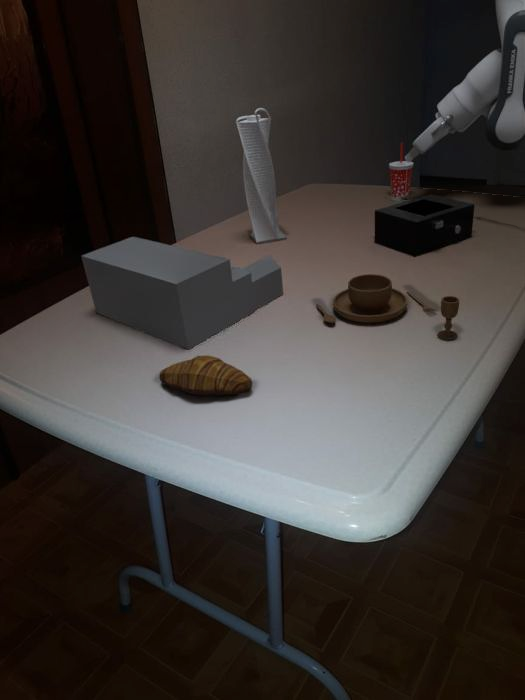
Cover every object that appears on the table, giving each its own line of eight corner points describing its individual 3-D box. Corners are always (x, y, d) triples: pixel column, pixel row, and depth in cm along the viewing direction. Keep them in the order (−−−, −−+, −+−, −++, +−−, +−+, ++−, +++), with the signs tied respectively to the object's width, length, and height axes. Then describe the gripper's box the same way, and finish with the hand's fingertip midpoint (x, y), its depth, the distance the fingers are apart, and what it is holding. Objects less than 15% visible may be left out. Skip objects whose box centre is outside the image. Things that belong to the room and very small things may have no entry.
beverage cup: (404, 194, 149) (406, 139, 143) (416, 199, 144) (419, 142, 137) (383, 198, 148) (384, 143, 141) (395, 203, 143) (397, 146, 136)
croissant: (150, 397, 75) (142, 365, 72) (173, 370, 80) (166, 340, 78) (243, 409, 70) (239, 375, 68) (260, 380, 76) (257, 348, 73)
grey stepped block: (284, 294, 100) (279, 235, 94) (188, 349, 85) (176, 283, 80) (191, 269, 115) (182, 218, 110) (96, 313, 101) (81, 255, 95)
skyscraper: (288, 240, 125) (278, 106, 111) (253, 246, 124) (239, 111, 110) (278, 230, 132) (267, 103, 119) (245, 236, 131) (230, 108, 117)
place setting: (405, 286, 98) (406, 255, 95) (464, 337, 81) (468, 301, 78) (309, 304, 95) (307, 272, 92) (349, 360, 78) (349, 323, 75)
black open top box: (428, 225, 126) (430, 194, 122) (476, 238, 115) (479, 205, 112) (374, 242, 119) (374, 210, 116) (419, 258, 109) (421, 223, 105)
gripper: (456, 130, 123) (409, 174, 132) (471, 116, 138) (429, 156, 147) (436, 109, 122) (391, 155, 132) (454, 97, 138) (413, 138, 147)
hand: (411, 155), depth 140 cm, fingers open, 8 cm apart
